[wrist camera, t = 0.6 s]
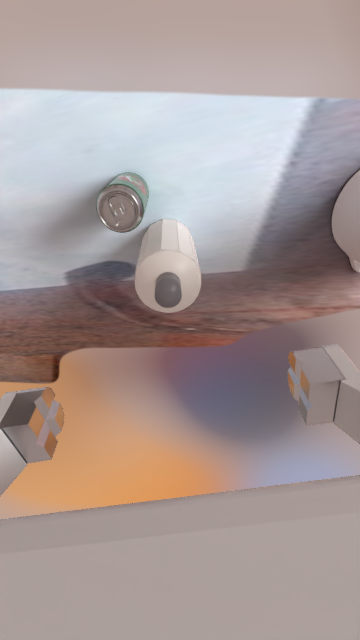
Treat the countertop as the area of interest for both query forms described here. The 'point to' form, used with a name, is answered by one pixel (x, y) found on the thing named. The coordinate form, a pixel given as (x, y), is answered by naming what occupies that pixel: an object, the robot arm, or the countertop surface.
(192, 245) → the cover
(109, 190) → the soda can
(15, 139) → the countertop surface
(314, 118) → the countertop surface
